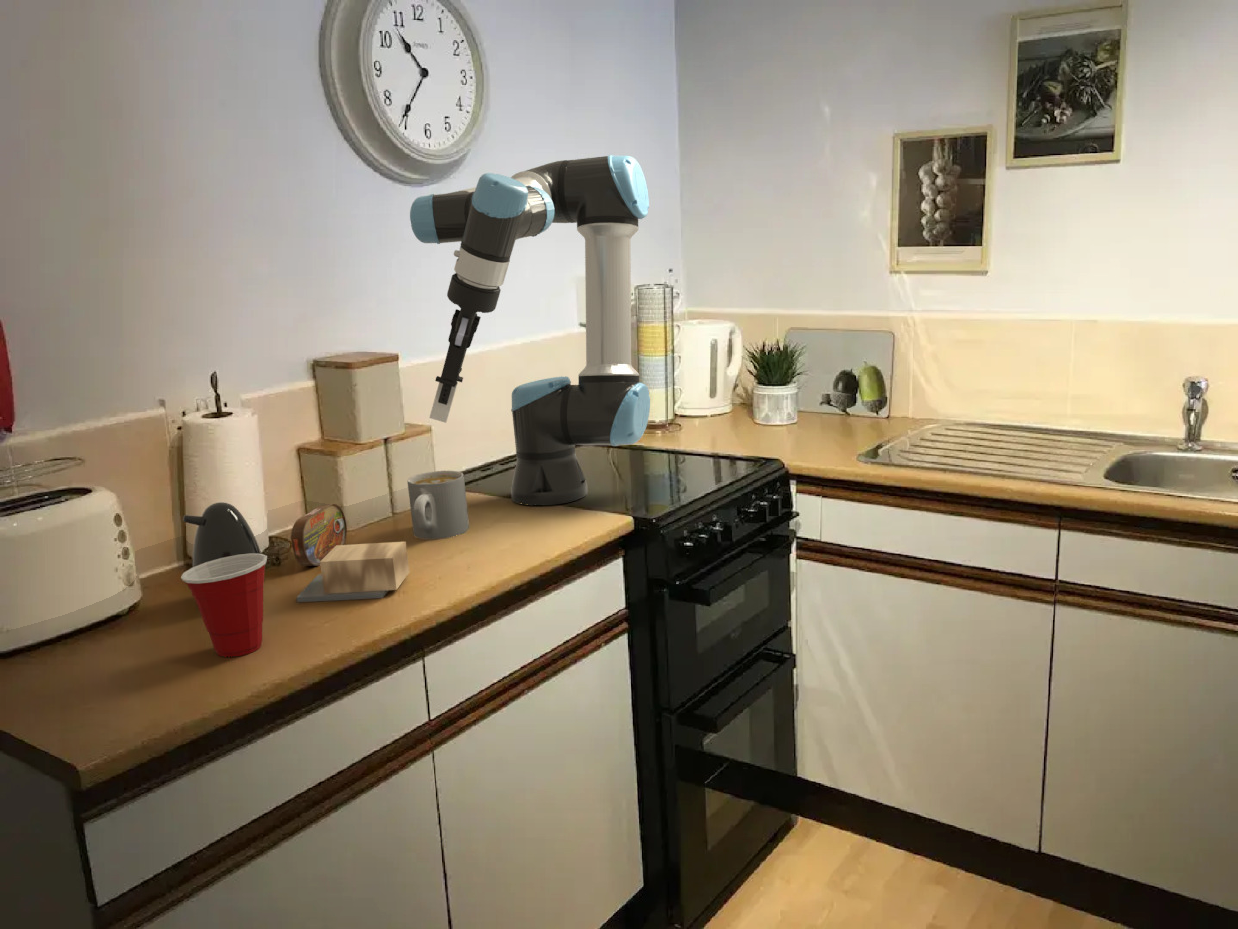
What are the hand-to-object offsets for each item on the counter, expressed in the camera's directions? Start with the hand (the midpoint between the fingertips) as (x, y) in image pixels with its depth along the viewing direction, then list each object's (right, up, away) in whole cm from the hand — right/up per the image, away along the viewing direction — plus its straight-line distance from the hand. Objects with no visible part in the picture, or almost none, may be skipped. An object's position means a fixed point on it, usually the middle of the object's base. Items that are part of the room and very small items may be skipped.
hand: (438, 418), depth 163 cm
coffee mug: (-4, -20, +21) cm, 29 cm away
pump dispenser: (-30, -28, -6) cm, 42 cm away
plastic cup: (-22, -32, -26) cm, 47 cm away
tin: (-22, -23, +12) cm, 34 cm away
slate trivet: (-13, -26, -5) cm, 30 cm away
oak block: (-5, -23, -6) cm, 24 cm away
